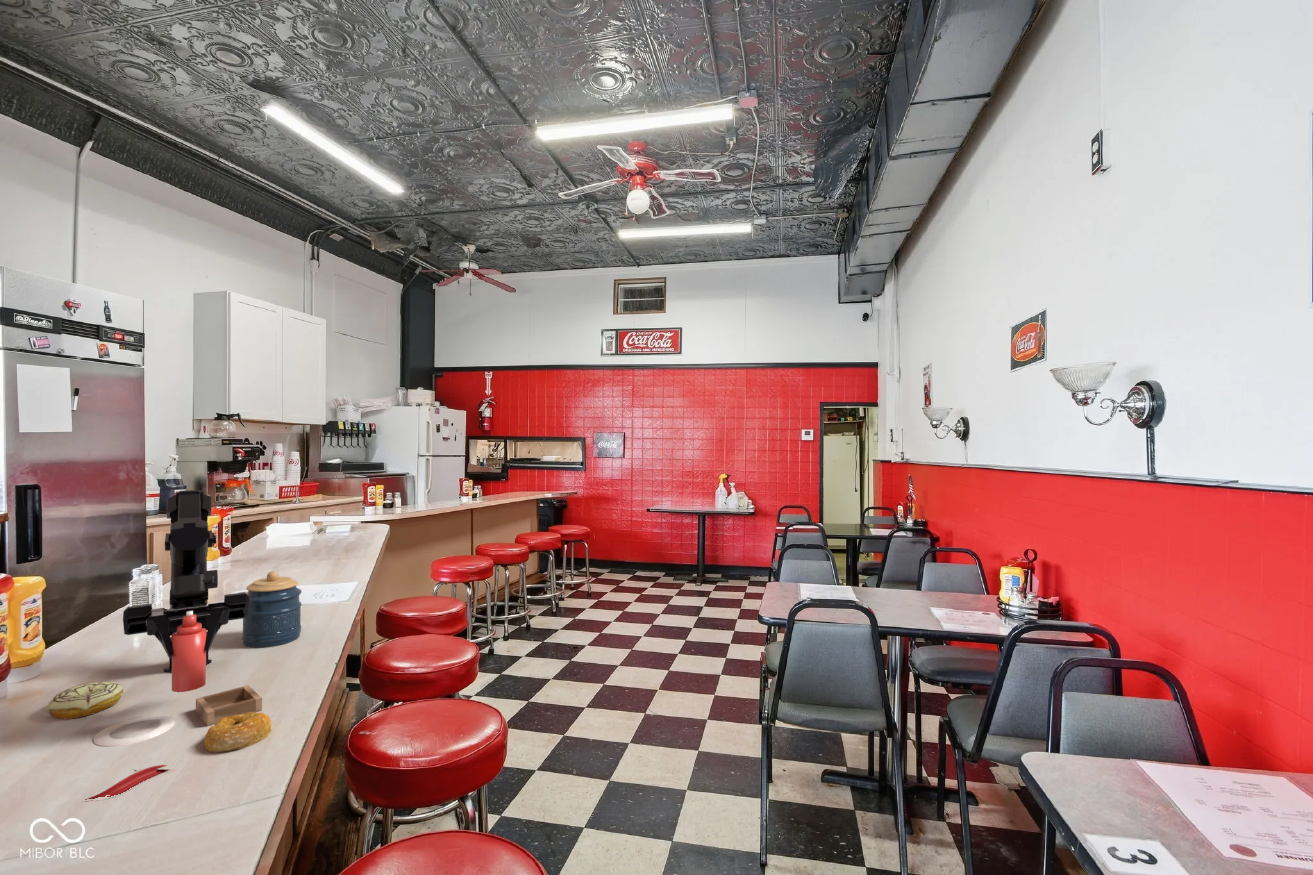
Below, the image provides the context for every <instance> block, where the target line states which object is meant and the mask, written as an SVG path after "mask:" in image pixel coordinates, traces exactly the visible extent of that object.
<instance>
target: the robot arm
mask: <svg viewBox="0 0 1313 875" xmlns="http://www.w3.org/2000/svg"><path fill="white" fill-rule="evenodd" d="M209 517H212V496H210V495H207V494H205V493H204V490H200V489H190V490H188V489H187V490H179V491H175V495H172V496H170V497H168V498H167V499H166V519H170V529H169V532H167V533H165V538H164V551H165V552H169V556H170V590H169V608H165V607H157V608H153V603H149V604H148V603H146V604H140V605H139V604H138V605H130V606H127V607H126V608H125V609H124V610H123V614H122V617H123V618H122V623H123V634H124V635H126V636H132V635H140V634H143V633H144V634H146V635H147V636H150V637H151V636H154V637H155V638H156V639H157V640H158V642H159V643H160V644H161V646H162V648H163V649H164V652H165V654H166V655H167V657H168V659H169V660H168V662H169V664H168V667H165V668H164V669H163V672H164V673H172V634H173V633H175V632H177V627H178V626H180V625H183V616H185V615H186V612H187V611H193V614H195V615H196V623H201V624H202V628H205V629H206V666H207V665H208V664H211V663H212V661H213V660H212V659H210V658H209V652H210V650H211V646H212V645H213V642H214V640H215V637H216V636H217V633H218V632H219V631H220V629H221V627H222V626H225V625H227V624H229V621H233V620H235V621H236V620H243V618H246V617H247V616H248V609H249V595H248V594H247V593H248V592H246V591H245V592H244V591H243V592H236V593H228V594H224V595H223V596H224V598H223V601H222V602H214V603H209V602H208V600H209V590H210V589H216V588H218V587H219V586H218V585H219V577H218V576H219V574H218V573H219V572H218V571H219V570H218V569H210V570H208V559H207V558H208V553H209V548H213V546H214V545H216V544H217V536H216V534H215V533H214V532H213V530H209V523H208V519H209Z"/></svg>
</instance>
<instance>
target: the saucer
mask: <svg viewBox="0 0 1313 875" xmlns="http://www.w3.org/2000/svg"><path fill="white" fill-rule="evenodd" d="M175 723H176V719H175V717H173V716H172V715H167V714H152V715H151V714H150V715H144V716H138V717H135V718H134V717H133V718H130V719H129V718H128V719H126V720H123V721H120V722H117V723H114V724H112V725H109V726H107V727H106V728H104V729H102V730H100V731H99V732H98V733H97V734H95V735H94V737H93V743H94V744H95V745H97V746H100V747H119V746H127V745H132V744H136V743H140V742H143V741H147V740H150V739H152V738H156V737H158V736H159V735H162V734H163V733H165V732H168V731H169V730H170V729H172V727H174V725H175Z"/></svg>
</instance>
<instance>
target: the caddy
mask: <svg viewBox="0 0 1313 875" xmlns="http://www.w3.org/2000/svg"><path fill="white" fill-rule="evenodd" d="M249 712H255V713H260V712H263V697H262V696H260V695H259V694H258V693H257V692H256V691H255V690H254V689H253V688H252V687H251V686H250V685H244V686H240V687H236V688H232V689H227V690H225V691H221V692H217V693H213V694H209V695H205V696H201V697H196V698H195V713H196V714H197V716H199V718H200V719H201V720H202V721H203V723H204V724H205V725H206V727H212V726H215V724H216V723H218V722H219V720H220V719H222V718H225V717H230V716H236V715H241V714H246V713H249Z"/></svg>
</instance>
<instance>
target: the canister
mask: <svg viewBox="0 0 1313 875" xmlns="http://www.w3.org/2000/svg"><path fill="white" fill-rule="evenodd" d="M298 584H299V582H298V581H297V580H295V579H293V578H292V577H289V576H280V575H279V573H278V572H277V571H276V570H275V571H273V570H272V571H269V572H268V573H267V574H266V577H264V578H260V579H257V580H254V581H253V582H252V583H250V584H248V585H247V586H246V587H245V588H246V591H247V592H246V593H247V594H248V595H249V609H248V616H247V617H246V618H243V619H242V634H241V640H242V644H243V645H244V646H246V647H249V648H268V647H275V646H280V645H284V644H287V643H291V642H293V641H295V640H298V638H299V637H300V635H301V632H302V625H301V617H302V616H301V607H302V602H301V601H300V595H301V594H302V593H303V592H302V591H303V590H301V588H299V587H297V585H298Z"/></svg>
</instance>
